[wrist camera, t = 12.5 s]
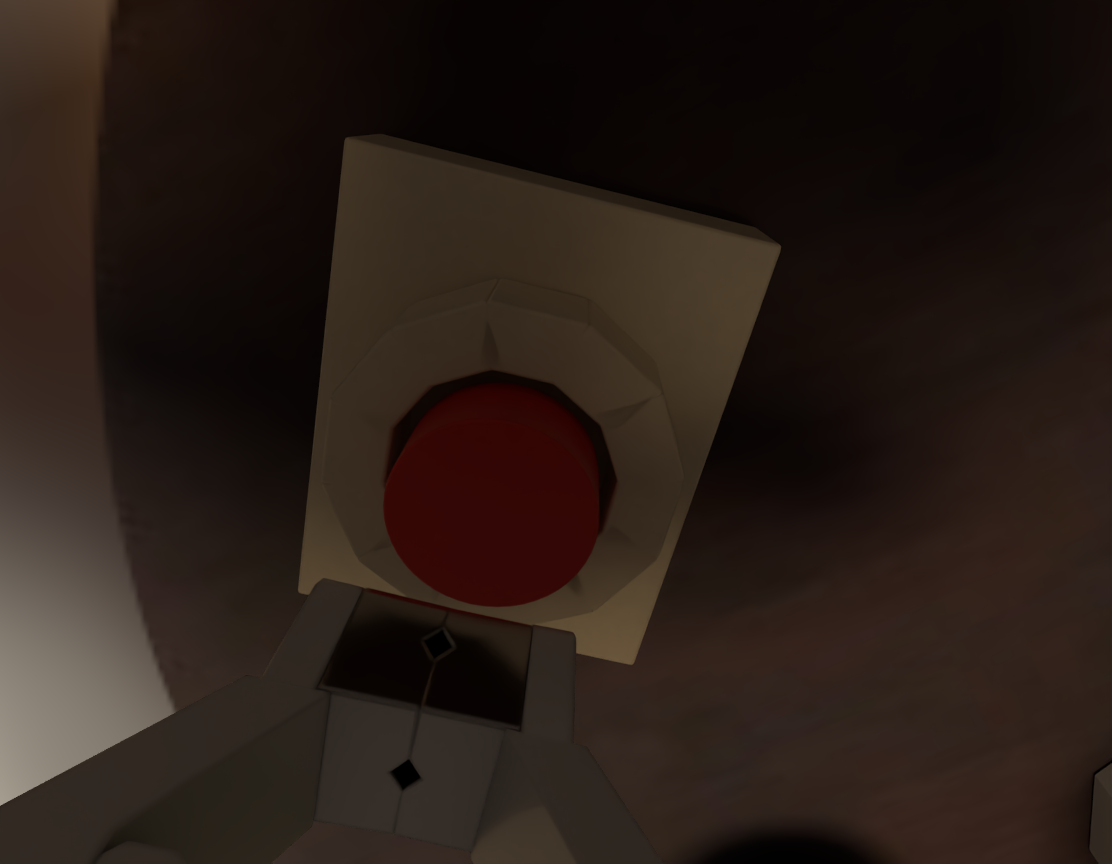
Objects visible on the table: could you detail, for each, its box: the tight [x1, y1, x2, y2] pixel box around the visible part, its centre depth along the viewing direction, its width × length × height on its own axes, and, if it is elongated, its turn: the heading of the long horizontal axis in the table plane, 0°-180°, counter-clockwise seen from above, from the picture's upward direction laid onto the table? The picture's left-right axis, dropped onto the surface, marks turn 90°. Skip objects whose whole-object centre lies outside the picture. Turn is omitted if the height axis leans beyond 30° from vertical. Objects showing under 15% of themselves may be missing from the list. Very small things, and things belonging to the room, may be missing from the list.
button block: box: [298, 134, 781, 665], centre depth 15 cm, size 10×8×4 cm
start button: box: [383, 382, 599, 607], centre depth 13 cm, size 4×4×2 cm
